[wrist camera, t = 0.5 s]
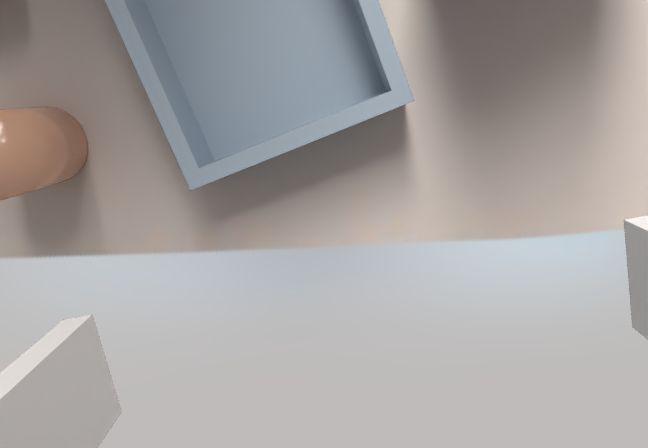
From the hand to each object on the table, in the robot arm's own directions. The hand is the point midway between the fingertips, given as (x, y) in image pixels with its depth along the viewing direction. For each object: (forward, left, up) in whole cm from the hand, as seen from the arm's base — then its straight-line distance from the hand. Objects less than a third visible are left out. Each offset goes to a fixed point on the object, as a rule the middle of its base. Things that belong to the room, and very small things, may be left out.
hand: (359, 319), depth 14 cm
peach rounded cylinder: (-9, -18, -25) cm, 32 cm away
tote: (-12, -2, -25) cm, 28 cm away
